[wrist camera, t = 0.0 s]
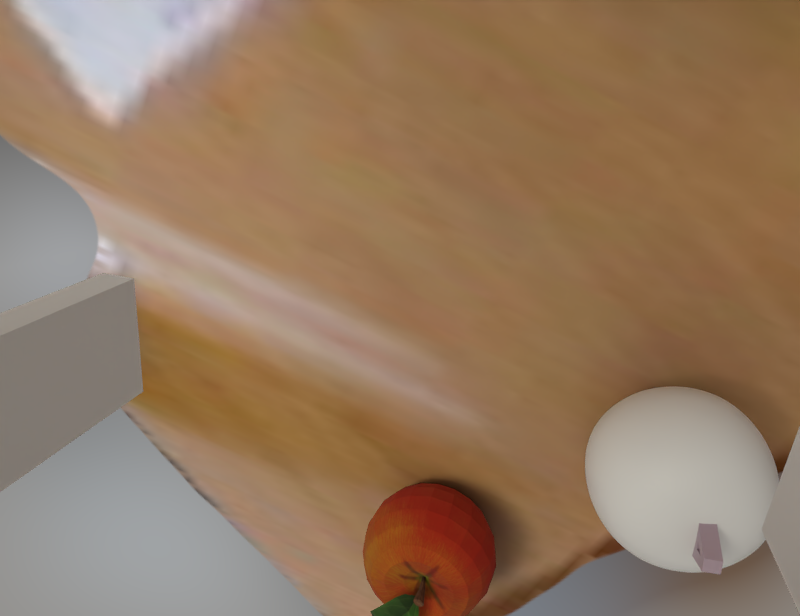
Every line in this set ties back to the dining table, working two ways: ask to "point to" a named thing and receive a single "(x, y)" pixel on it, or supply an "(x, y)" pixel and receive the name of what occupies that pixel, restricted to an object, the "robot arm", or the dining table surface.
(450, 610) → the fruit
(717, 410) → the ornament
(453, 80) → the dining table surface
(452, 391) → the dining table surface
